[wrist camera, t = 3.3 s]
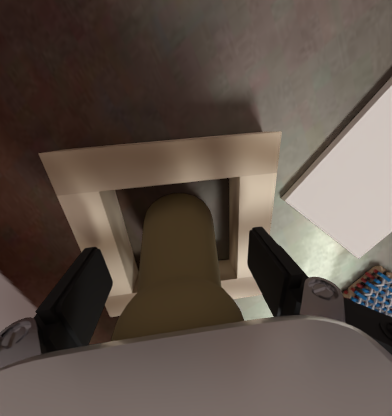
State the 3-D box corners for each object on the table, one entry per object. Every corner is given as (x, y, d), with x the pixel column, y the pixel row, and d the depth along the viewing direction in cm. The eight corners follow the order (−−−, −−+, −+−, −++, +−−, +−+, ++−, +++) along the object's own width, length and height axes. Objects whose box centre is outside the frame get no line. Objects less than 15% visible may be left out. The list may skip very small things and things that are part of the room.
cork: (129, 212, 14) (13, 408, 4) (195, 180, 14) (245, 314, 4) (165, 262, 17) (148, 461, 7) (222, 236, 16) (299, 410, 6)
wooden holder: (252, 274, 18) (262, 294, 16) (118, 293, 17) (110, 317, 15) (262, 131, 13) (281, 131, 10) (65, 149, 12) (38, 153, 9)
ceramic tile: (353, 255, 19) (358, 258, 18) (280, 198, 15) (284, 200, 14) (464, 162, 15) (474, 163, 15) (406, 59, 12) (418, 56, 11)
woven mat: (351, 332, 26) (364, 347, 24) (306, 313, 23) (317, 329, 21) (413, 287, 23) (433, 301, 21) (370, 258, 20) (390, 271, 18)
